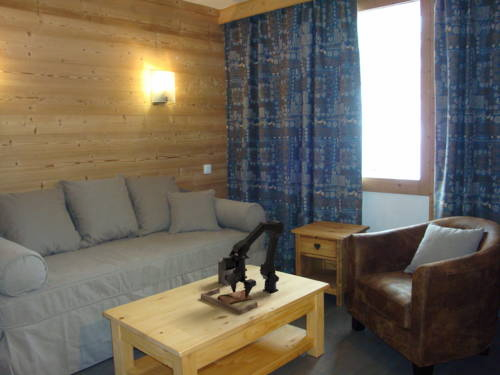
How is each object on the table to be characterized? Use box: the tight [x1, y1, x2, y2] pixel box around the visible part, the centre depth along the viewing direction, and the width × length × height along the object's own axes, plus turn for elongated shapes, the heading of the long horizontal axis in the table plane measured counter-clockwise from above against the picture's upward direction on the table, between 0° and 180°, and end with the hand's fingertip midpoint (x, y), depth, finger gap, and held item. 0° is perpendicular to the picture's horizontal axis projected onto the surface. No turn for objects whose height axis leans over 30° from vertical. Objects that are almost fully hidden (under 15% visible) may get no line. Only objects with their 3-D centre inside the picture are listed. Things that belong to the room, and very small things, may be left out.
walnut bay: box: [200, 287, 258, 315], centre depth 238 cm, size 13×29×2 cm, turn 47°
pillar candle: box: [217, 257, 235, 286], centre depth 266 cm, size 10×10×15 cm
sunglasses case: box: [216, 289, 253, 305], centre depth 241 cm, size 18×7×7 cm, turn 124°
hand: (240, 295), depth 244 cm, fingers open, 9 cm apart
